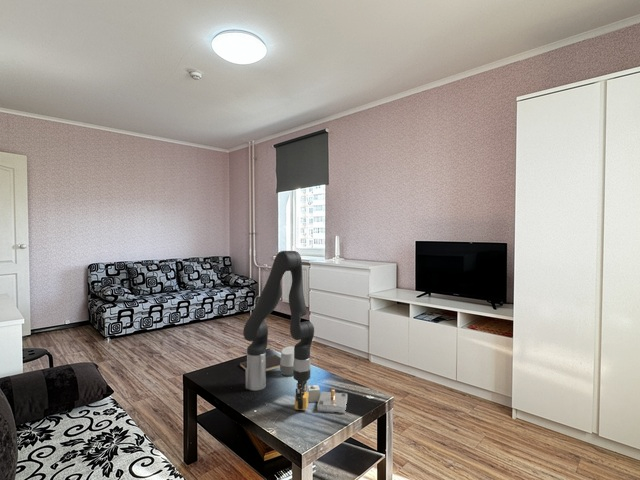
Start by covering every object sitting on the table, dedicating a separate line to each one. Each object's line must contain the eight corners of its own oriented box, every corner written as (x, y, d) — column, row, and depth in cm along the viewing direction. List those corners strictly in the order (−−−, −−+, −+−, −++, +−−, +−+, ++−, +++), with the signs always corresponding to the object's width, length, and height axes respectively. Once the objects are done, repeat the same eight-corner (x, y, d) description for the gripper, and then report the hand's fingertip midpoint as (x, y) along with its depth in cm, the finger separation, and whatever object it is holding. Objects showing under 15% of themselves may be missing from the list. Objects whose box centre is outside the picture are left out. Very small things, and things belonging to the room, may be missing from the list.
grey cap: (309, 402, 158) (309, 388, 158) (307, 397, 163) (307, 384, 163) (319, 401, 159) (319, 388, 159) (318, 396, 164) (318, 383, 164)
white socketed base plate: (317, 411, 150) (317, 395, 150) (321, 397, 162) (321, 383, 162) (345, 413, 149) (345, 397, 148) (347, 399, 160) (347, 384, 160)
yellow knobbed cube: (294, 409, 150) (294, 395, 150) (297, 403, 155) (297, 389, 155) (306, 410, 150) (306, 396, 149) (308, 404, 155) (308, 390, 154)
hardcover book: (288, 366, 201) (288, 362, 201) (251, 375, 188) (251, 371, 188) (274, 357, 214) (274, 354, 214) (239, 366, 200) (239, 362, 200)
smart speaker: (276, 374, 189) (276, 348, 189) (288, 368, 196) (288, 344, 196) (288, 378, 183) (288, 352, 182) (300, 373, 190) (300, 348, 189)
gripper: (297, 360, 160) (297, 397, 160) (289, 373, 145) (289, 413, 146) (313, 361, 158) (312, 398, 159) (307, 374, 144) (306, 415, 145)
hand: (301, 405), depth 153 cm, fingers closed on yellow knobbed cube, 5 cm apart
